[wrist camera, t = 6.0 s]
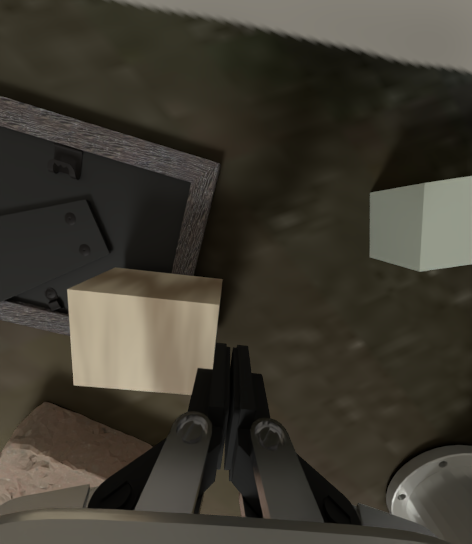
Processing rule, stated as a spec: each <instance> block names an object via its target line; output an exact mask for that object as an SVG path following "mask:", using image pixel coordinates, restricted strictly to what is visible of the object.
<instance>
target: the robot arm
mask: <svg viewBox="0 0 472 544" xmlns="http://www.w3.org/2000/svg"><path fill="white" fill-rule="evenodd" d="M224 441H225V461H224V470H229V481H232V483H233V484H234V486H235V487H236V488H237V489H238V491H239V503H240V510H241V517H235V516H219V515H204V514H200V511H201V506H202V502H203V497H204V492H205V491H206V490H207V489H208V487H209V486H210V485H211V484H212V483H213V482H214V481H215V476H216V469H220V468H221V461H222V455H223V448H224ZM386 503H387V507H388V510H389V512H390V514H389V513H386V512H383V511H380V510H378V509H375V508H372V507H369V506H366V505H363V504H360V503H358V504H357V506H354V505H352V504H351V503H350V501H349V500H348V499H347V498H346V497H345V496H344V495H343V494H342V493H341V492H339V491H338V490H337V489H336V488H335V487H334V486H333V485H332V484H330V483H329V482H328V481H327V480H326V479H325V478H324V477H323V476H321V475H320V474H319V473H318V472H317V471H316V470H315V469H313V468H312V467H311V466H310V465H309V464H308V463H307V462H306V461H304V460H303V459H302V458H301V457H300V456H299V455H298V454H297V453H296V452H295V449H294V447H293V444H292V442H291V440H290V437H289V435H288V433H287V431H286V429H285V428H284V427H283V426H282V424H281V423H279V422H278V421H276V420H274V419H271V418H270V414H269V409H268V403H267V398H266V393H265V388H264V382H263V377H262V375H261V374H255V373H251V366H250V358H249V351H248V346H242V345H237V348H234V347H233V352H232V359H231V366H230V347H226V344H223V343H216V348H215V357H214V365H213V369H204V368H198V369H197V373H196V377H195V382H194V386H193V391H192V395H191V400H190V404H189V409H188V412H186V413H184V414H182V415H180V416H179V417H178V418H177V419H176V420H175V422H174V424H173V426H172V428H171V430H170V432H169V434H168V437H167V438H166V439H164V440H163V441H161V442H160V443H158V444H157V445H155V446H154V447H152V448H151V449H149V450H148V451H147V452H145V453H144V454H142V455H141V456H139V457H138V458H136V459H135V460H133V461H132V462H131V463H129V464H128V465H126V466H125V467H123V468H122V469H120V470H119V471H117V472H116V473H114V474H113V475H112V476H110V477H109V478H107V479H106V480H105V481H104V482H103V483H101V484H100V485H99V486H97V487H91V488H90V484H86V485H80V486H75V487H70V488H64V489H59V490H53V491H48V492H43V493H37V494H32V495H26V496H21V497H17V498H14V499H12V500H9V501H7V502H5V503H4V504H2V505H0V544H472V446H467V445H449V446H443V447H438V448H435V449H432V450H429V451H426V452H424V453H422V454H420V455H418V456H416V457H414V458H413V459H411V460H410V461H408V462H407V463H406V464H404V465H403V466H402V467H401V468H400V469H399V470H398V471H397V473H396V474H395V475H394V477H393V478H392V480H391V482H390V484H389V486H388V489H387V494H386Z"/></svg>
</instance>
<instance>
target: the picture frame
mask: <svg viewBox="0 0 472 544" xmlns="http://www.w3.org/2000/svg"><path fill="white" fill-rule="evenodd" d="M220 167H221V166H220V163H217V162H214V161H211V160H207V159H204V158H201V157H198V156H194V155H191V154H188V153H185V152H181V151H178V150H175V149H172V148H168V147H165V146H162V145H159V144H155V143H152V142H149V141H146V140H142V139H139V138H136V137H133V136H129V135H126V134H123V133H120V132H116V131H113V130H110V129H107V128H103V127H100V126H97V125H94V124H90V123H87V122H84V121H81V120H77V119H74V118H71V117H68V116H64V115H61V114H58V113H55V112H51V111H48V110H45V109H42V108H38V107H35V106H32V105H29V104H25V103H22V102H19V101H16V100H12V99H9V98H6V97H3V96H0V320H3V321H8V322H12V323H16V324H21V325H25V326H29V327H34V328H38V329H42V330H47V331H51V332H55V333H59V334H64V335H68V336H70V323H69V309H68V294H67V289H69V288H71V287H73V286H75V285H78V284H80V283H82V282H84V281H86V280H89V279H91V278H93V277H95V276H97V275H100V274H102V273H104V272H106V271H109V270H111V269H113V268H125V269H134V270H143V271H152V272H161V273H170V274H180V275H189V276H194V273H195V269H196V265H197V261H198V257H199V253H200V249H201V245H202V241H203V236H204V232H205V228H206V224H207V220H208V216H209V212H210V208H211V204H212V200H213V196H214V191H215V187H216V183H217V179H218V175H219V171H220Z"/></svg>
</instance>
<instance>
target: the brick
mask: <svg viewBox="0 0 472 544" xmlns="http://www.w3.org/2000/svg"><path fill="white" fill-rule="evenodd" d="M152 447H153V446H151V445H150V444H148V443H146V442H144V441H142V440H139V439H137V438H135V437H133V436H130V435H126V434H125V433H123V432H120V431H118V430H115V429H112V428H110V427H108V426H106V425H103V424H101V423H99V422H96V421H93V420H90V419H89V418H87V417H85V416H83V415H81V414H79V413H75V412H73V411H70V410H66V409H64V408H61V407H59V406H57V405H54V404H52V403H50V402H43V403H42V404H41V405H40V406H38V407H36V408H35V409H34V410H33V411H32V412H31V413H30V415H28V416H27V417H26V418H25V419H24V420H23V421H22V422H21V423H20V424H19V426H18V427H17V428H16V429H15V431H14V432H13V434H12V436H11V438H10V440H9V441H8V442H7V444H6V446H5V447H4V449H3V451H2V452H1V453H0V505H2V504H4V503H5V502H7V501H9V500H12V499H14V498H17V497H21V496H26V495H32V494H37V493H43V492H48V491H53V490H59V489H64V488H70V487H75V486H80V485H86V484H90V488H91V487H97V486H99V485H100V484H101V483H103V482H104V481H105V480H106V479H107V478H109V477H110V476H112V475H113V474H114V473H116V472H117V471H119V470H120V469H122V468H123V467H125V466H126V465H128V464H129V463H131V462H132V461H133V460H135V459H136V458H138V457H139V456H141V455H142V454H144V453H145V452H147V451H148V450H149V449H151V448H152Z"/></svg>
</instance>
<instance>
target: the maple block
mask: <svg viewBox="0 0 472 544" xmlns="http://www.w3.org/2000/svg"><path fill="white" fill-rule="evenodd" d="M222 281H223V279H216V278H207V277H198V276H189V275H180V274H170V273H161V272H152V271H143V270H134V269H125V268H113V269H111V270H109V271H106V272H104V273H102V274H100V275H97V276H95V277H93V278H91V279H89V280H86V281H84V282H82V283H80V284H78V285H75V286H73V287H71V288H69V289H67V294H68V309H69V323H70V338H71V352H72V367H73V382H74V385H75V386H88V387H100V388H112V389H125V390H137V391H149V392H162V393H174V394H186V395H192V391H193V386H194V382H195V377H196V373H197V369H198V368H204V369H213V362H214V353H215V345H216V336H217V327H218V318H219V309H220V300H221V290H222Z"/></svg>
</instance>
